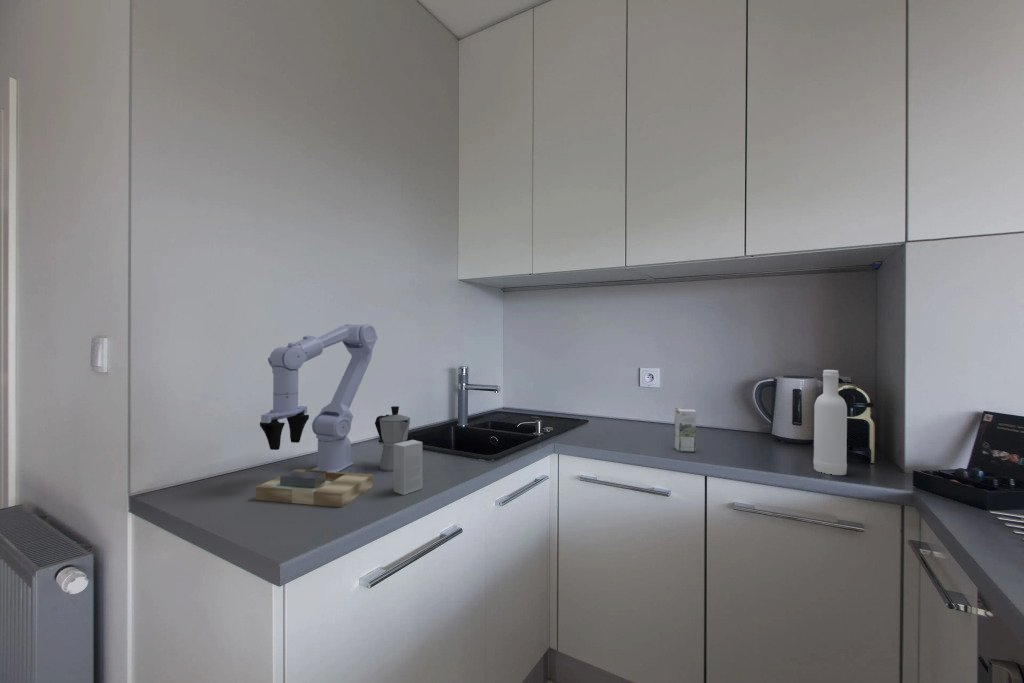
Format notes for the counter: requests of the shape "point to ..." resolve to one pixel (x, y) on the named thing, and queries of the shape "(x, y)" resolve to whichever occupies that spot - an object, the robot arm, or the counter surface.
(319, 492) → the bamboo board
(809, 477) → the counter surface
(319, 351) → the robot arm
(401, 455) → the skincare box
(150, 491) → the counter surface
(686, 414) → the syrup box
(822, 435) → the bottle
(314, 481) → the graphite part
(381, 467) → the coffee maker
